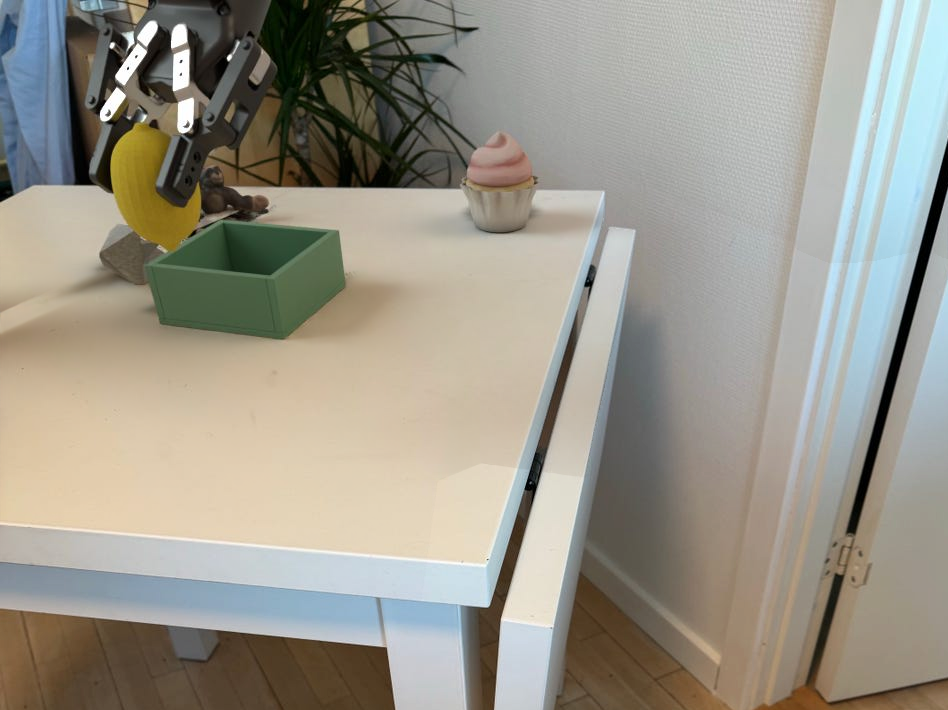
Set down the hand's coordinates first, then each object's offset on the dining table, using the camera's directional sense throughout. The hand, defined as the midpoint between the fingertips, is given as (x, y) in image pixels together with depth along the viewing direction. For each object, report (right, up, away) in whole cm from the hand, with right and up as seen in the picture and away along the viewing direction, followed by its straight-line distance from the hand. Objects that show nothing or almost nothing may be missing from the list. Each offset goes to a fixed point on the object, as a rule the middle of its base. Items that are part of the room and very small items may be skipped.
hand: (136, 193), depth 59 cm
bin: (0, +5, +32) cm, 32 cm away
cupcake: (+25, +20, +48) cm, 58 cm away
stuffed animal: (-9, +22, +52) cm, 57 cm away
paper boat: (-13, +9, +38) cm, 41 cm away
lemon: (+1, -2, +4) cm, 5 cm away
